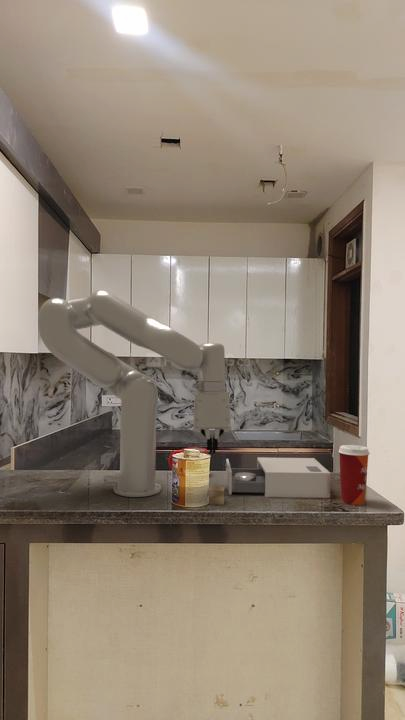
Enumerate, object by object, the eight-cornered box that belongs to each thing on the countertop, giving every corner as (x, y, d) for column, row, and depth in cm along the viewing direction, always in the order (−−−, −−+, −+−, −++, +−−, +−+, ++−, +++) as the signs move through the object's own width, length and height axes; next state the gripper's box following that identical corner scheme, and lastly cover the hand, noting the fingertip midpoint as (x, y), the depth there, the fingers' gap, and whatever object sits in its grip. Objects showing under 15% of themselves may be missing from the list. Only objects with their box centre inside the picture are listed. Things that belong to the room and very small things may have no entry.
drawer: (227, 494, 124) (228, 471, 124) (224, 478, 140) (224, 458, 140) (292, 495, 124) (292, 472, 124) (281, 479, 140) (282, 459, 140)
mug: (170, 471, 149) (170, 446, 149) (207, 472, 148) (208, 447, 148) (166, 477, 141) (166, 451, 141) (205, 478, 140) (206, 452, 140)
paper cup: (371, 507, 115) (372, 450, 115) (338, 505, 117) (339, 449, 117) (366, 498, 123) (367, 445, 123) (336, 496, 125) (337, 443, 125)
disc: (257, 485, 129) (257, 478, 129) (235, 485, 129) (236, 477, 129) (254, 479, 135) (254, 472, 135) (233, 479, 135) (233, 472, 135)
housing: (265, 496, 123) (265, 471, 123) (257, 479, 141) (257, 456, 141) (330, 497, 123) (330, 472, 123) (313, 479, 141) (313, 457, 141)
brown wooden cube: (209, 504, 116) (209, 490, 116) (209, 500, 120) (209, 486, 120) (223, 504, 116) (224, 490, 116) (223, 500, 120) (223, 486, 120)
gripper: (184, 388, 128) (185, 455, 128) (239, 387, 128) (240, 455, 128) (185, 386, 135) (186, 450, 136) (237, 386, 135) (238, 449, 136)
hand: (212, 452), depth 132 cm, fingers closed
